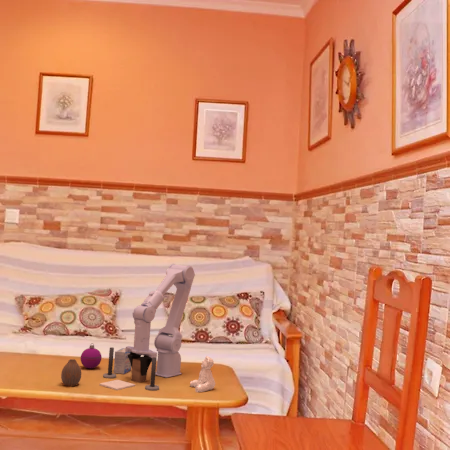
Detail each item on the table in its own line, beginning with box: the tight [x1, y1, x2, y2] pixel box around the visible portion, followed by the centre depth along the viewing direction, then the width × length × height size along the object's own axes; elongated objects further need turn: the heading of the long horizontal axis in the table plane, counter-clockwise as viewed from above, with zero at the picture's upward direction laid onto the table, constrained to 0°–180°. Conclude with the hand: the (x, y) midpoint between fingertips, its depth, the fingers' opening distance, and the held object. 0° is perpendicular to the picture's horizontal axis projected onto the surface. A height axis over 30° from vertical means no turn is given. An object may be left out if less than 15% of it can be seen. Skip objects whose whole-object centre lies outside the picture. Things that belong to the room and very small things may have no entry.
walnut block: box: [131, 358, 148, 383], centre depth 211 cm, size 4×4×8 cm
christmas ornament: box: [80, 343, 102, 370], centre depth 226 cm, size 8×8×10 cm
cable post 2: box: [144, 357, 160, 392], centre depth 201 cm, size 5×5×11 cm
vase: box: [60, 358, 82, 387], centre depth 199 cm, size 7×7×9 cm
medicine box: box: [113, 347, 132, 375], centre depth 224 cm, size 8×4×9 cm, turn 168°
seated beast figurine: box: [189, 355, 216, 393], centre depth 206 cm, size 10×9×12 cm
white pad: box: [99, 379, 136, 391], centre depth 202 cm, size 9×9×1 cm
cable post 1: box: [102, 346, 117, 379], centre depth 214 cm, size 5×5×11 cm
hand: (139, 374), depth 211 cm, fingers closed on walnut block, 4 cm apart
